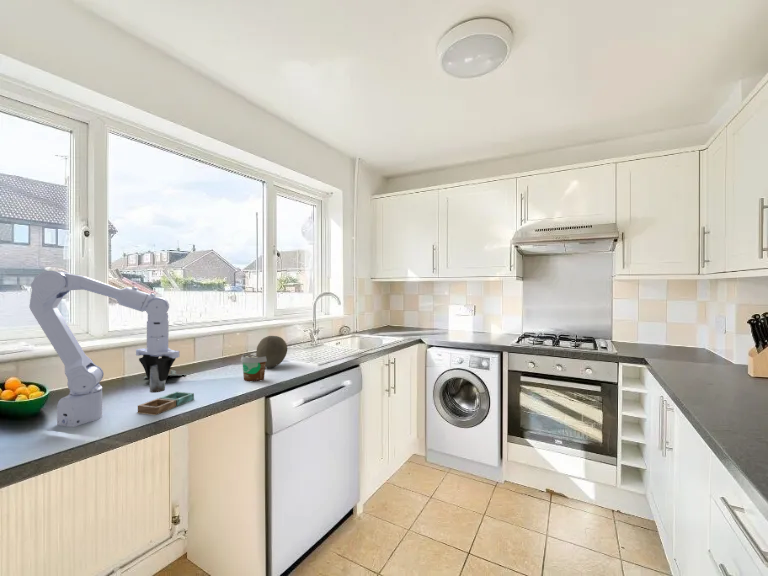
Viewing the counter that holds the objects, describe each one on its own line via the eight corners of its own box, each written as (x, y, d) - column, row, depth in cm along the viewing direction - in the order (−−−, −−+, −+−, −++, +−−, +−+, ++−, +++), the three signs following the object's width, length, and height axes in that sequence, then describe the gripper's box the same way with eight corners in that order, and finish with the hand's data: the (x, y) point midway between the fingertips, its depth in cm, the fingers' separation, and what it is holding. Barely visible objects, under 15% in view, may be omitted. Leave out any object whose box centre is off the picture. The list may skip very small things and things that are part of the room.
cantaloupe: (278, 371, 164) (279, 338, 164) (250, 369, 166) (250, 337, 166) (291, 364, 178) (291, 334, 178) (265, 363, 180) (265, 333, 180)
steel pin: (157, 393, 108) (157, 366, 108) (146, 391, 109) (146, 365, 109) (167, 389, 112) (168, 364, 112) (157, 388, 113) (157, 363, 113)
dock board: (155, 418, 106) (155, 408, 106) (136, 415, 108) (136, 406, 108) (194, 401, 121) (194, 393, 121) (177, 399, 123) (177, 391, 123)
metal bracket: (182, 368, 144) (138, 371, 138) (181, 383, 143) (136, 387, 137) (186, 370, 157) (146, 373, 151) (186, 384, 155) (145, 387, 150)
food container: (233, 379, 149) (234, 355, 149) (245, 376, 154) (246, 353, 154) (255, 383, 143) (255, 359, 143) (266, 380, 149) (266, 356, 148)
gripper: (187, 335, 112) (186, 378, 113) (150, 333, 116) (149, 374, 116) (168, 338, 106) (168, 384, 106) (129, 336, 109) (129, 380, 109)
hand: (157, 379), depth 110 cm, fingers closed on steel pin, 4 cm apart
